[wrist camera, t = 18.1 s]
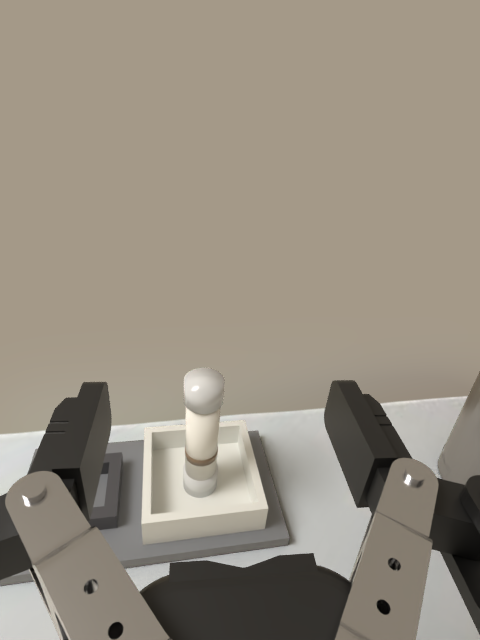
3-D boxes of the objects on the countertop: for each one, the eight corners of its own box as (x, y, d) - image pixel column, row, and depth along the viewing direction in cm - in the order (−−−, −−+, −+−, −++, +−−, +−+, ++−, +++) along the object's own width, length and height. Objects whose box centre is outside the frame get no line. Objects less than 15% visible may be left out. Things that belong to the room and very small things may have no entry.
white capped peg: (221, 474, 43) (229, 373, 36) (209, 502, 40) (216, 397, 33) (191, 465, 44) (193, 363, 37) (177, 491, 41) (177, 386, 34)
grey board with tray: (257, 437, 51) (260, 411, 48) (287, 544, 39) (294, 517, 37) (37, 456, 46) (30, 428, 43) (-4, 586, 34) (-17, 557, 32)
